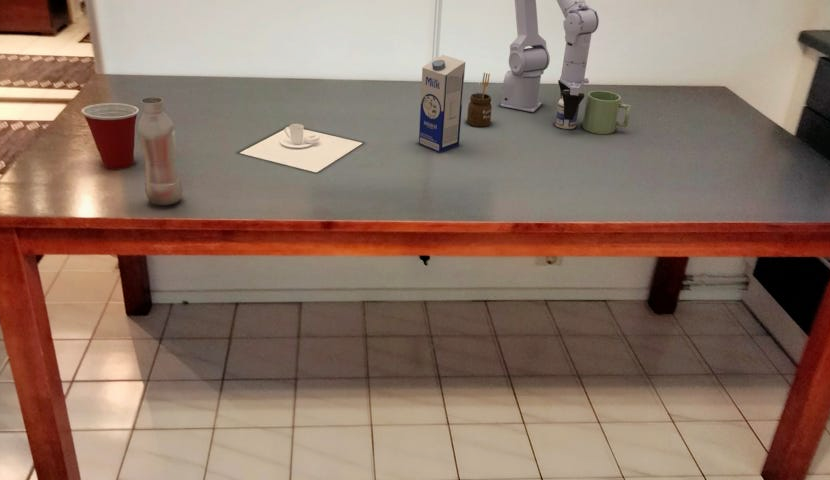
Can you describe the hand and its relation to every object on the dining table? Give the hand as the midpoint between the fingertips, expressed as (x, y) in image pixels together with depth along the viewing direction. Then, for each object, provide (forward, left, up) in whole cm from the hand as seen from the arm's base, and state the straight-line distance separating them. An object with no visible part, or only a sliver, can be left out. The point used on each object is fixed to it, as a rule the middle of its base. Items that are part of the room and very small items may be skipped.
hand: (566, 114), depth 193 cm
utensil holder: (-20, -10, -3) cm, 23 cm away
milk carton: (-23, -29, -3) cm, 37 cm away
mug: (+9, +3, -3) cm, 10 cm away
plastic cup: (-77, -74, -3) cm, 107 cm away
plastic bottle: (-57, -84, -3) cm, 101 cm away
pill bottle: (0, 0, -3) cm, 3 cm away
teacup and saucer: (-49, -47, -3) cm, 68 cm away
